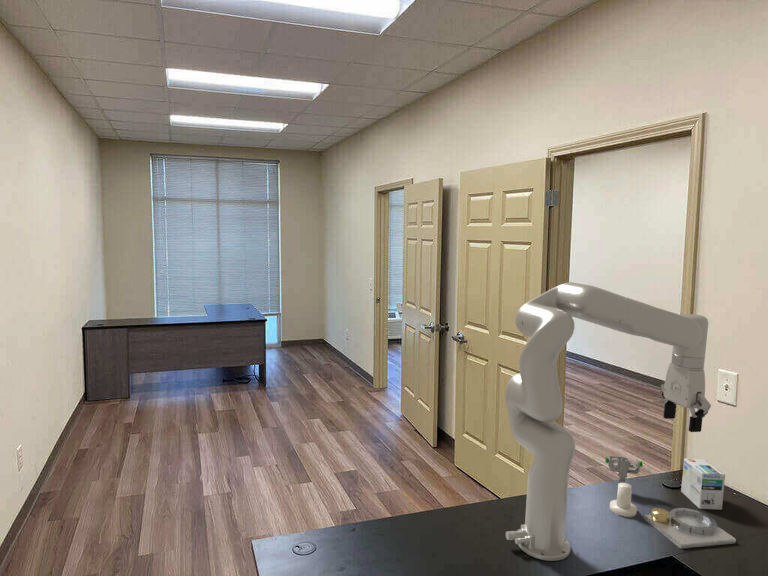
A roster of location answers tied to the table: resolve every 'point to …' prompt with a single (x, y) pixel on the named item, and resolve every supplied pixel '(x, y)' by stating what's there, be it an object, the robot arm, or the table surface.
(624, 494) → the white door knob
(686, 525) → the carrier plate
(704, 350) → the robot arm
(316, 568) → the table surface
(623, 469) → the mechanical component
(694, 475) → the light bulb box
